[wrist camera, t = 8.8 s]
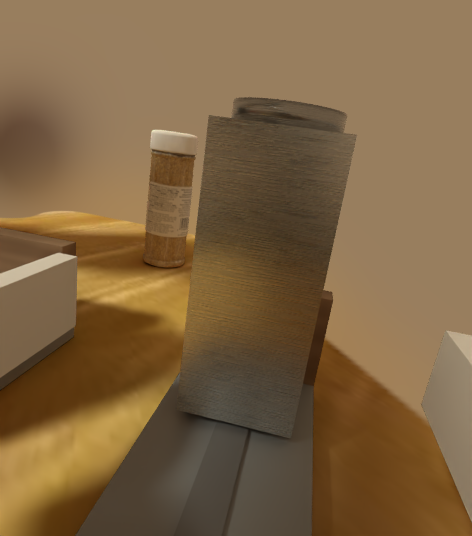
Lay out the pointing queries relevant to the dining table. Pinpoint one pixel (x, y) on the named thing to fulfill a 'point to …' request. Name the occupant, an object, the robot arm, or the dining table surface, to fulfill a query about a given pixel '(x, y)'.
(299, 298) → the grey metal prism
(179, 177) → the sprinkles bottle
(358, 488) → the dining table surface
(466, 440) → the robot arm
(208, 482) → the steel rail
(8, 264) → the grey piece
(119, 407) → the dining table surface
